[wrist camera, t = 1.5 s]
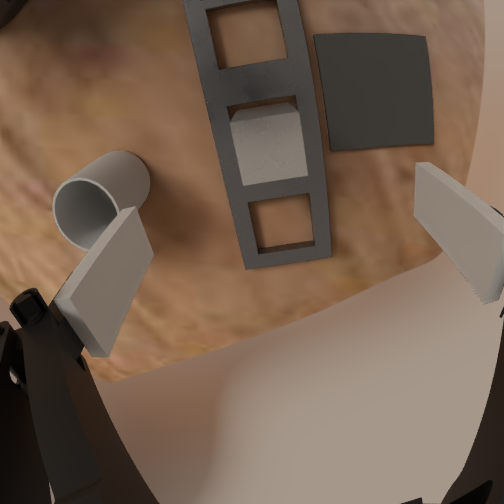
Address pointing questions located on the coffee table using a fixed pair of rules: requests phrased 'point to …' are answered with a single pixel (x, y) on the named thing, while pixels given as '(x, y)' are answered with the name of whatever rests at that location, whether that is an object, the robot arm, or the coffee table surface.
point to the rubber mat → (375, 89)
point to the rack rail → (253, 89)
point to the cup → (99, 196)
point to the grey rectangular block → (269, 143)
